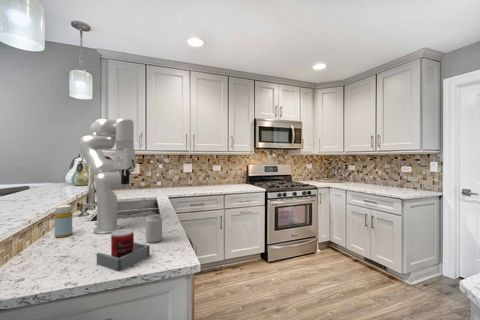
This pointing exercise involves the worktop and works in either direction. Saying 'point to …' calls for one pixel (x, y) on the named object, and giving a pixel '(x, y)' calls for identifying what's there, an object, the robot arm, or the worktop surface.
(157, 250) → the worktop surface
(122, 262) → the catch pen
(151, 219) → the can
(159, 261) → the worktop surface
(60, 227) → the bottle
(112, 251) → the canned food
